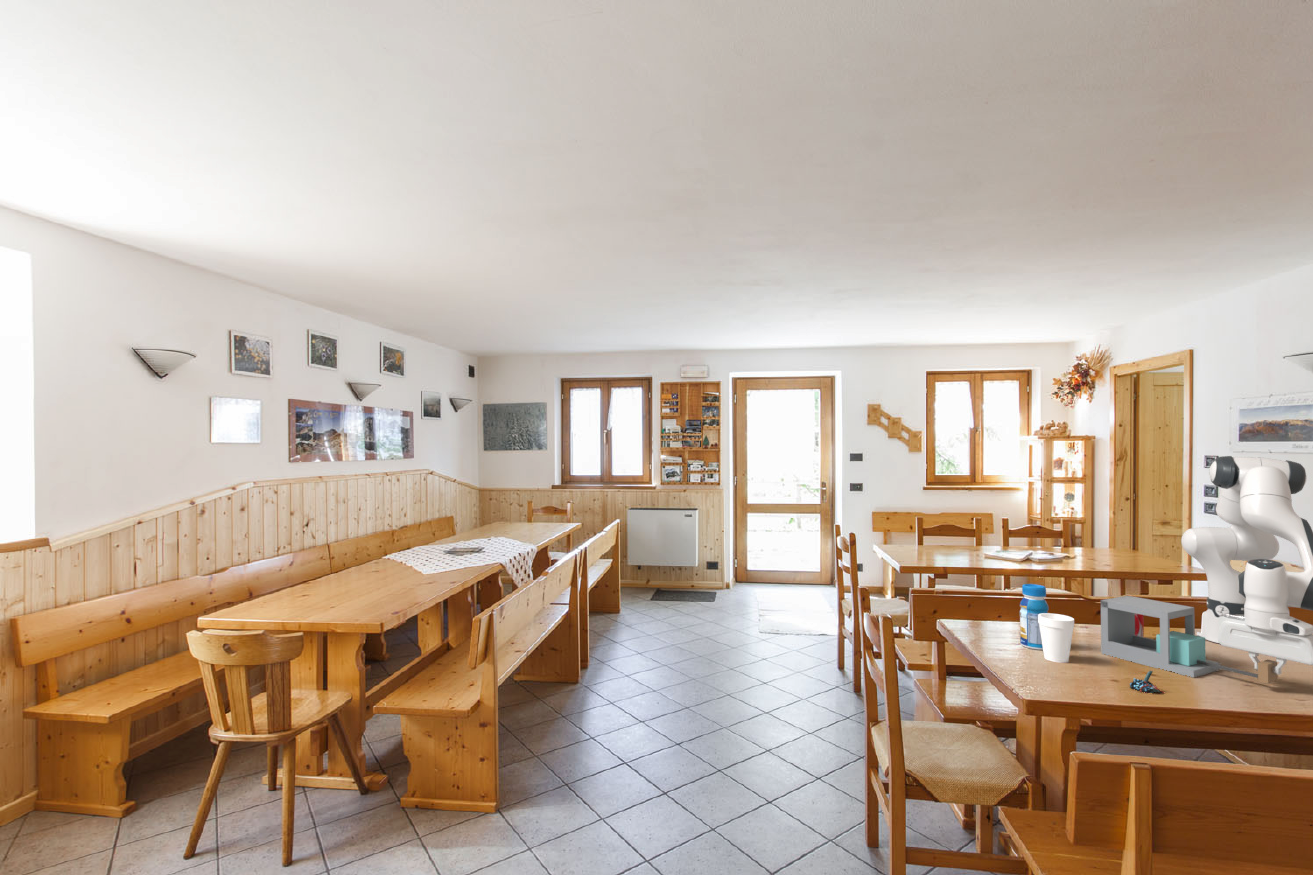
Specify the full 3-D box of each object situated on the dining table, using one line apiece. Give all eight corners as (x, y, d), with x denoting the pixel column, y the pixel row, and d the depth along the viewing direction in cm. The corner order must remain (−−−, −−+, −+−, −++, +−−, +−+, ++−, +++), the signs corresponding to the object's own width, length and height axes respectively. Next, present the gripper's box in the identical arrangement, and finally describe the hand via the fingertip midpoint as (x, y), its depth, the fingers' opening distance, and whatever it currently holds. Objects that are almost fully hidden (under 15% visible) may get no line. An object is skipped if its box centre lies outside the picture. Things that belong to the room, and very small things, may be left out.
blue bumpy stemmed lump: (1134, 674, 173) (1151, 665, 166) (1159, 696, 169) (1176, 689, 163) (1116, 690, 170) (1132, 682, 164) (1141, 713, 166) (1158, 706, 160)
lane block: (1173, 653, 191) (1173, 630, 192) (1280, 678, 170) (1280, 653, 170) (1156, 658, 187) (1156, 634, 187) (1264, 684, 165) (1264, 658, 165)
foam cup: (1071, 657, 194) (1071, 615, 194) (1077, 666, 185) (1077, 622, 186) (1036, 652, 198) (1036, 611, 198) (1040, 661, 189) (1040, 618, 190)
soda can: (1148, 644, 209) (1147, 608, 209) (1124, 642, 210) (1124, 607, 211) (1136, 638, 216) (1136, 603, 216) (1113, 636, 217) (1113, 602, 218)
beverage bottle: (1039, 651, 199) (1039, 589, 200) (1014, 644, 206) (1013, 584, 207) (1055, 648, 203) (1054, 586, 203) (1029, 641, 210) (1029, 582, 211)
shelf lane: (1128, 647, 205) (1127, 595, 206) (1220, 669, 184) (1219, 611, 184) (1101, 653, 198) (1100, 600, 198) (1193, 677, 176) (1192, 617, 177)
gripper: (1213, 612, 177) (1214, 661, 176) (1313, 631, 158) (1314, 685, 158) (1223, 610, 179) (1224, 658, 179) (1323, 628, 161) (1324, 681, 161)
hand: (1267, 671), depth 168 cm, fingers closed on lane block, 2 cm apart
